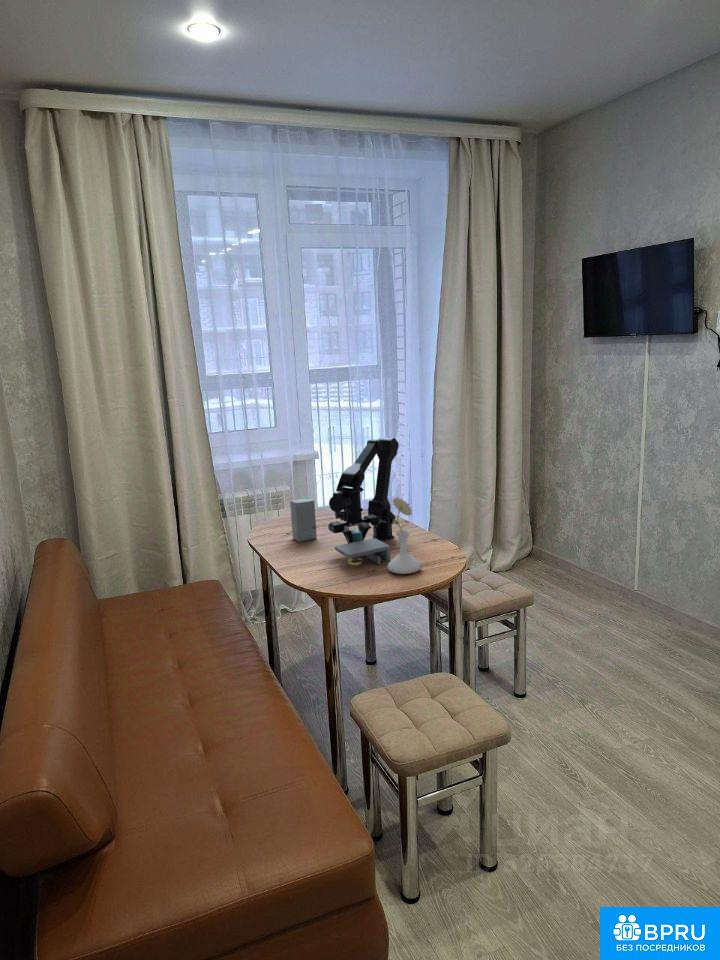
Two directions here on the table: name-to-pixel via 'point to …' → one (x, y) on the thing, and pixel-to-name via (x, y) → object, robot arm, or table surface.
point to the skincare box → (303, 519)
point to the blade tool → (358, 537)
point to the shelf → (365, 549)
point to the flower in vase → (403, 545)
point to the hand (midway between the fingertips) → (355, 545)
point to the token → (355, 562)
